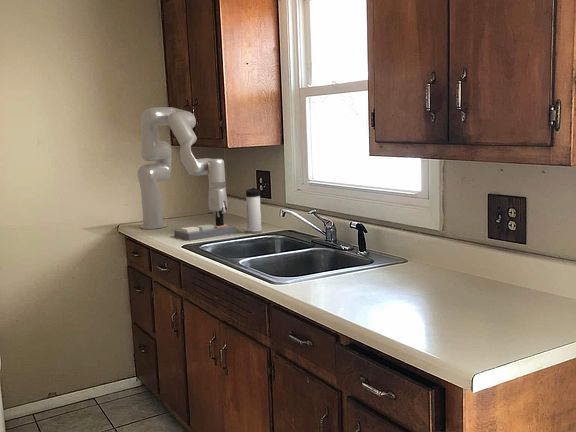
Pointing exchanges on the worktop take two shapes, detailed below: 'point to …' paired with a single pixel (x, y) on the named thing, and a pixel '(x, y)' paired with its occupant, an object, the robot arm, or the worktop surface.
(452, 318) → the worktop surface
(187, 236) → the keypad console
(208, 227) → the sage key
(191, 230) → the cream key
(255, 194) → the travel mug
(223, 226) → the terracotta key
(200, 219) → the worktop surface
